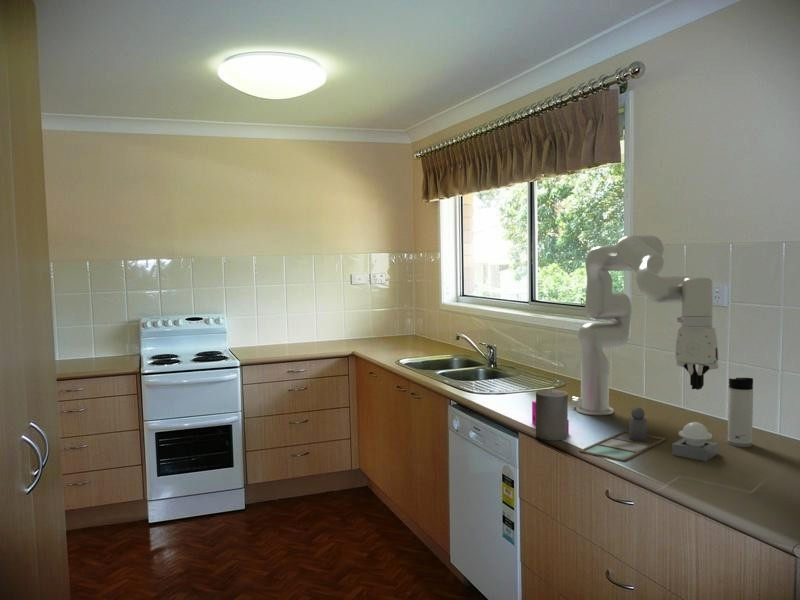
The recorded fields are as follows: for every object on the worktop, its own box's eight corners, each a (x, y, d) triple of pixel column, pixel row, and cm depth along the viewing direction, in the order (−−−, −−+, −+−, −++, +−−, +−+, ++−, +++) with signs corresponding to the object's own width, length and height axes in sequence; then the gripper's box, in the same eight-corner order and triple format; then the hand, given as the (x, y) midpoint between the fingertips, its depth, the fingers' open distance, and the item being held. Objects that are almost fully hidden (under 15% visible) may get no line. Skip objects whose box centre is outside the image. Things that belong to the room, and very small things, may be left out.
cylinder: (626, 439, 193) (626, 407, 192) (633, 436, 196) (633, 404, 196) (641, 442, 190) (642, 410, 189) (648, 439, 193) (649, 407, 192)
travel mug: (740, 448, 182) (741, 379, 181) (722, 442, 189) (723, 375, 187) (758, 446, 184) (759, 377, 183) (739, 440, 190) (741, 373, 189)
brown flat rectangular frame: (579, 452, 182) (579, 450, 182) (624, 432, 201) (624, 430, 201) (624, 461, 172) (624, 460, 172) (666, 440, 192) (666, 438, 192)
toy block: (568, 434, 200) (568, 410, 200) (549, 435, 199) (549, 411, 199) (549, 422, 215) (549, 400, 215) (532, 423, 214) (532, 401, 214)
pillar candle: (529, 434, 201) (529, 387, 199) (555, 430, 204) (555, 384, 203) (547, 442, 192) (548, 393, 190) (574, 438, 195) (574, 389, 194)
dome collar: (672, 454, 178) (672, 444, 178) (684, 447, 184) (684, 437, 184) (705, 461, 172) (706, 450, 171) (717, 453, 178) (718, 443, 178)
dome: (673, 447, 178) (674, 422, 177) (685, 441, 184) (685, 417, 183) (705, 453, 172) (705, 427, 171) (716, 446, 178) (716, 422, 177)
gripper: (664, 322, 178) (664, 387, 179) (721, 324, 167) (721, 394, 168) (675, 320, 183) (675, 383, 184) (731, 322, 173) (730, 389, 174)
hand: (696, 388), depth 176 cm, fingers closed
